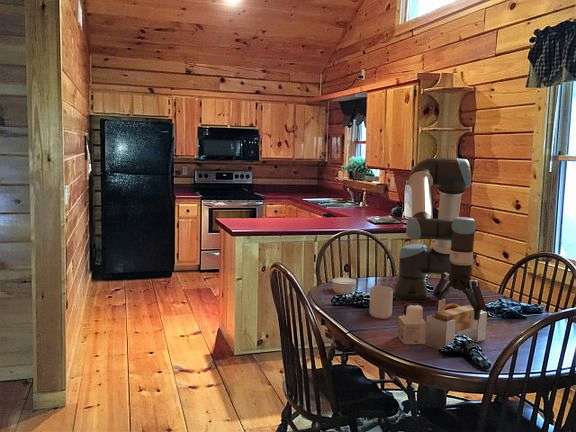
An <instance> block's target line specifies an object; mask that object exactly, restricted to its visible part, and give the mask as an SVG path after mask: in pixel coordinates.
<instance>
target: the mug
mask: <svg viewBox="0 0 576 432" xmlns="http://www.w3.org/2000/svg"><path fill="white" fill-rule="evenodd" d="M369 290H370V291H369V314H370V316H371V317H372V318H375V319H379V318H380V320H381V319H382V320H383V319H389V318H390V317H391V316H392V314H393V299H394V288H392V287H390V286H386V285H373V286H371V287H370V288H369Z"/></svg>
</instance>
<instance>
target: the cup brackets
mask: <svg viewBox="0 0 576 432" xmlns="http://www.w3.org/2000/svg"><path fill="white" fill-rule="evenodd" d="M487 319H488V311H484V310H481V311H480V319H479V320H478V322H477V328H476V329H470V328H469V329H465V330H462V331H458V332H455V323H456V321H455V320H449V321H443V320H440V319H437V318H435V313H434V314H429V315H426V321H425V322H426V337H425V344H424V345H425V346H426V347H427V346H428V347H430V348H433V349H434V350H437V351H439V349H440V348H442V347H446V346H447V345H449V344H451V343H452V342H454V338H455V336H456V335H457V334H460V335H465V336H467V337H469V338H471V339H472V340H474V341H473V342H475V343H480V342H483V341H486V334H487V333H486V331H487ZM455 334H456V335H455ZM472 340H471V341H472Z"/></svg>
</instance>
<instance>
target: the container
mask: <svg viewBox="0 0 576 432" xmlns="http://www.w3.org/2000/svg"><path fill="white" fill-rule="evenodd" d="M423 313H424V306H423V305H421V304H419V303H415V302H408V303H405V304H403V315H399V316H398V326H397V327H398V329H397V337H398V339H399V340H400V341H401V342H402V343H403V344H404V345H425V337H426V321H425V319H423V318H424V317H423V315H424V314H423Z"/></svg>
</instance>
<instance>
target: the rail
mask: <svg viewBox="0 0 576 432" xmlns="http://www.w3.org/2000/svg"><path fill="white" fill-rule="evenodd" d="M460 306H461V305H460ZM472 310H474V309H473V307H472V305H471V304H466V305H462V306H461V307H457V308H453V309H449V310H445V311H441V312H438V311H437V312H434V314H435V318H437V319H440V320H443V321H449V320H455V321H456V323H455V333H457V332H458V331H462V330H465V329H469V328H470V325H471V311H472Z"/></svg>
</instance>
